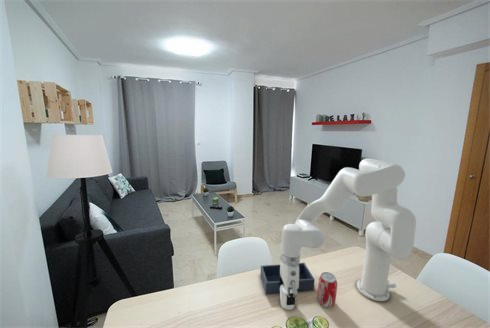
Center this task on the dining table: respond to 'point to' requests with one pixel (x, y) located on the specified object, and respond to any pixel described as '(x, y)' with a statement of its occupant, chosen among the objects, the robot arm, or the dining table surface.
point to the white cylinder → (285, 297)
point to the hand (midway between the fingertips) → (286, 294)
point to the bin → (272, 278)
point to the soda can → (327, 290)
